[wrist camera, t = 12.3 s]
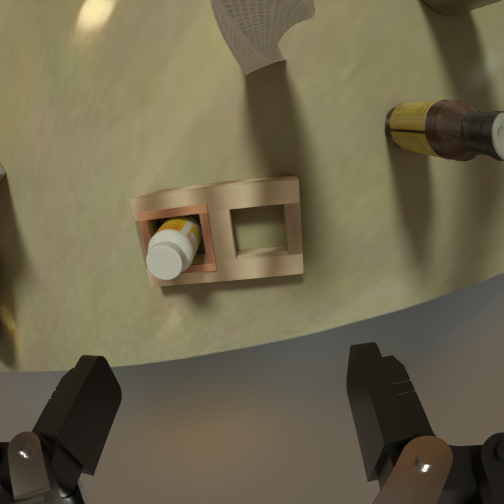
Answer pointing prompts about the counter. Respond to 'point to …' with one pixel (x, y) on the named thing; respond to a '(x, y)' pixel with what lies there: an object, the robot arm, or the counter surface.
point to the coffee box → (2, 172)
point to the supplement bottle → (173, 247)
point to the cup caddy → (225, 228)
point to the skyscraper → (258, 27)
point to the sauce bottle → (446, 129)
